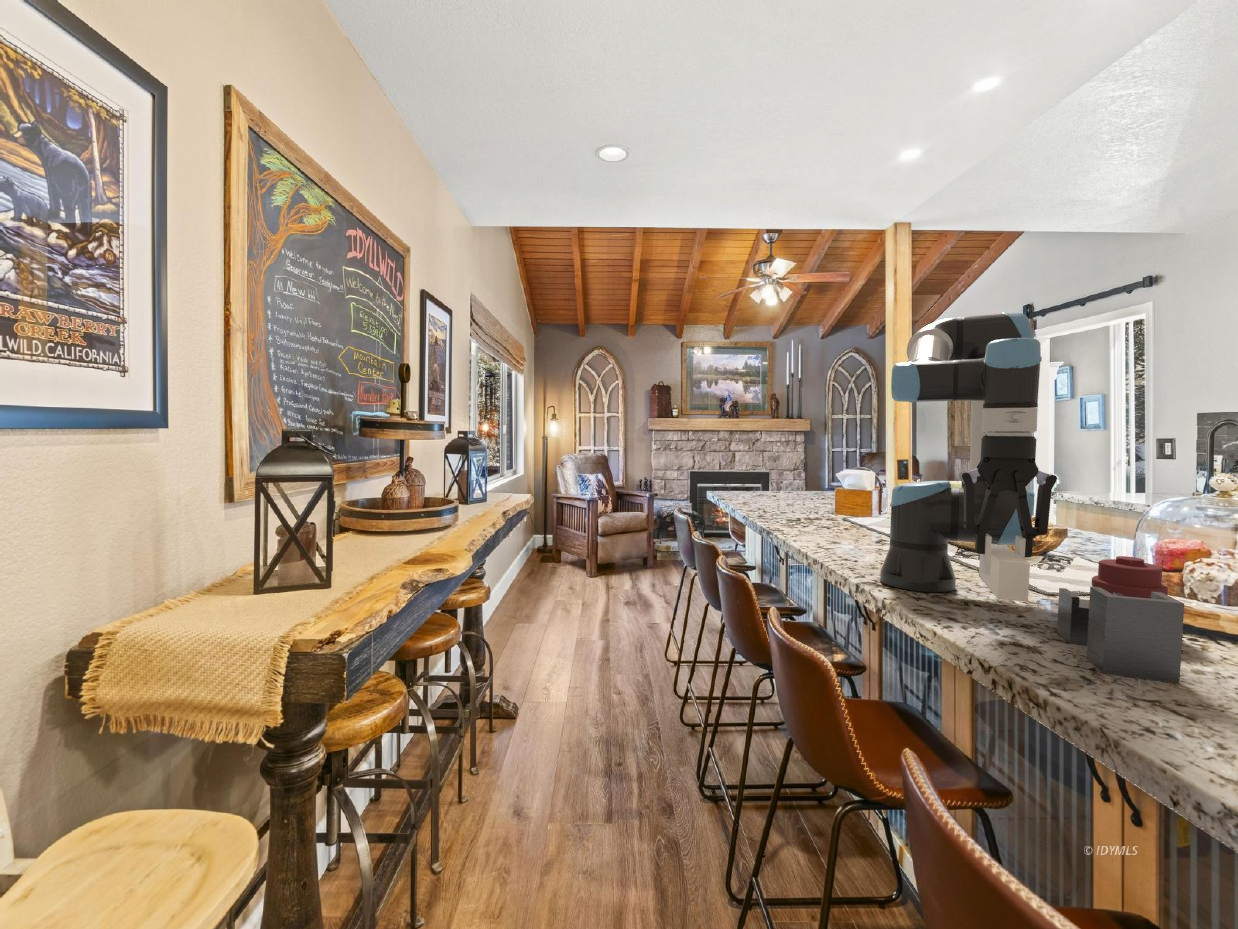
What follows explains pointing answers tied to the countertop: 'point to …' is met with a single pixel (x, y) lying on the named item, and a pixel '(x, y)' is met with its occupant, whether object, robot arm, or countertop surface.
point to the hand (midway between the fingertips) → (1001, 574)
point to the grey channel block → (1073, 617)
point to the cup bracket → (1135, 635)
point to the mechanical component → (1129, 577)
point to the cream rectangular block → (1007, 574)
